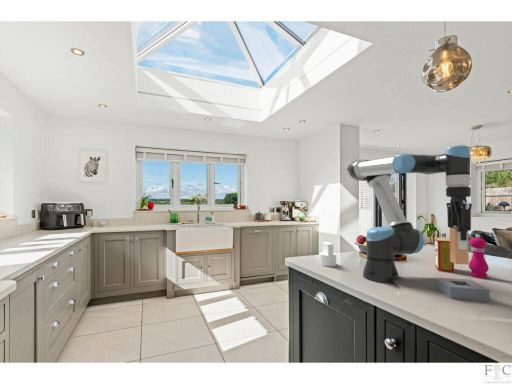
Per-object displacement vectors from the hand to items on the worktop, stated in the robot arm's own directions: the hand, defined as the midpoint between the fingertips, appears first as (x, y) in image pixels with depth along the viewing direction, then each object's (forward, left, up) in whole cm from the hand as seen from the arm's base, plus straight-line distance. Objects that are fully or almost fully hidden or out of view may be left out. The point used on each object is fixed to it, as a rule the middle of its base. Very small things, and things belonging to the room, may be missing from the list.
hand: (458, 247), depth 100 cm
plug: (0, 0, -6) cm, 6 cm away
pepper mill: (+22, +32, -18) cm, 43 cm away
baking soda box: (+12, +43, -18) cm, 48 cm away
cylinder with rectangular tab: (-47, +40, -18) cm, 64 cm away
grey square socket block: (0, 0, -18) cm, 18 cm away
